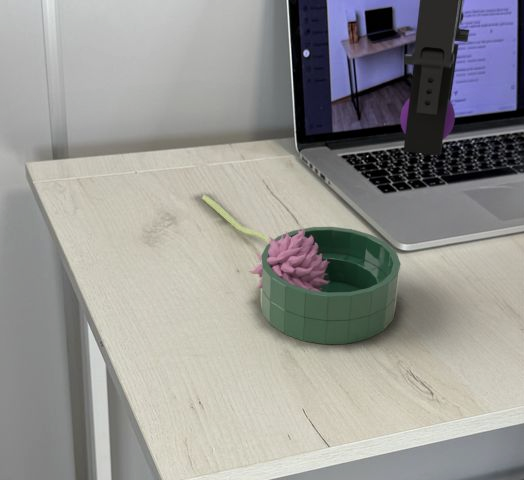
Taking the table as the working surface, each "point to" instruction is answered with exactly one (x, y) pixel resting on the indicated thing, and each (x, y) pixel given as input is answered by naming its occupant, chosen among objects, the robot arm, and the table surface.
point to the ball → (448, 124)
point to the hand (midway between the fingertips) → (425, 139)
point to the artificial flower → (287, 255)
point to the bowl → (336, 289)
